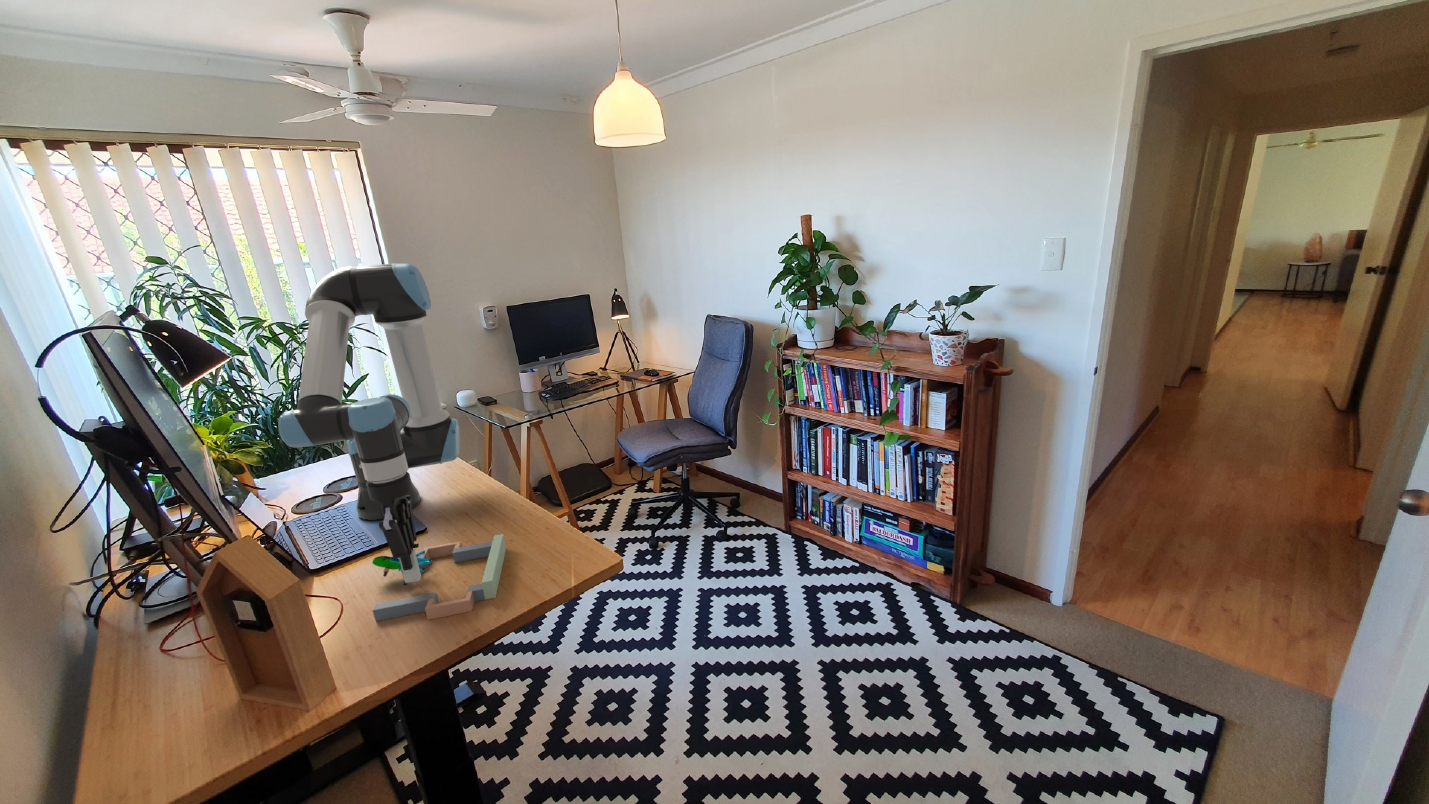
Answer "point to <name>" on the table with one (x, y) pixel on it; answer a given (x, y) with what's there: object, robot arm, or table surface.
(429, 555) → the wall
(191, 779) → the table surface
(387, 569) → the stick construction toy
